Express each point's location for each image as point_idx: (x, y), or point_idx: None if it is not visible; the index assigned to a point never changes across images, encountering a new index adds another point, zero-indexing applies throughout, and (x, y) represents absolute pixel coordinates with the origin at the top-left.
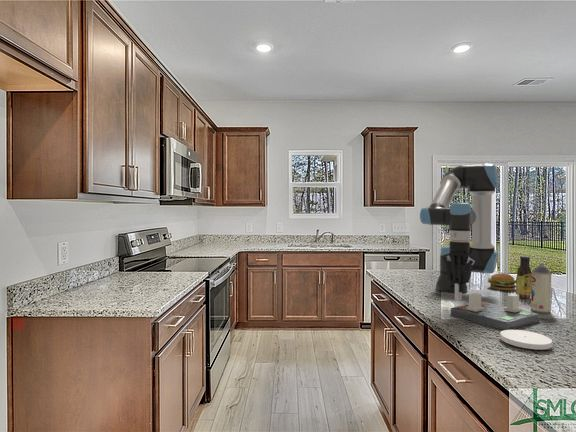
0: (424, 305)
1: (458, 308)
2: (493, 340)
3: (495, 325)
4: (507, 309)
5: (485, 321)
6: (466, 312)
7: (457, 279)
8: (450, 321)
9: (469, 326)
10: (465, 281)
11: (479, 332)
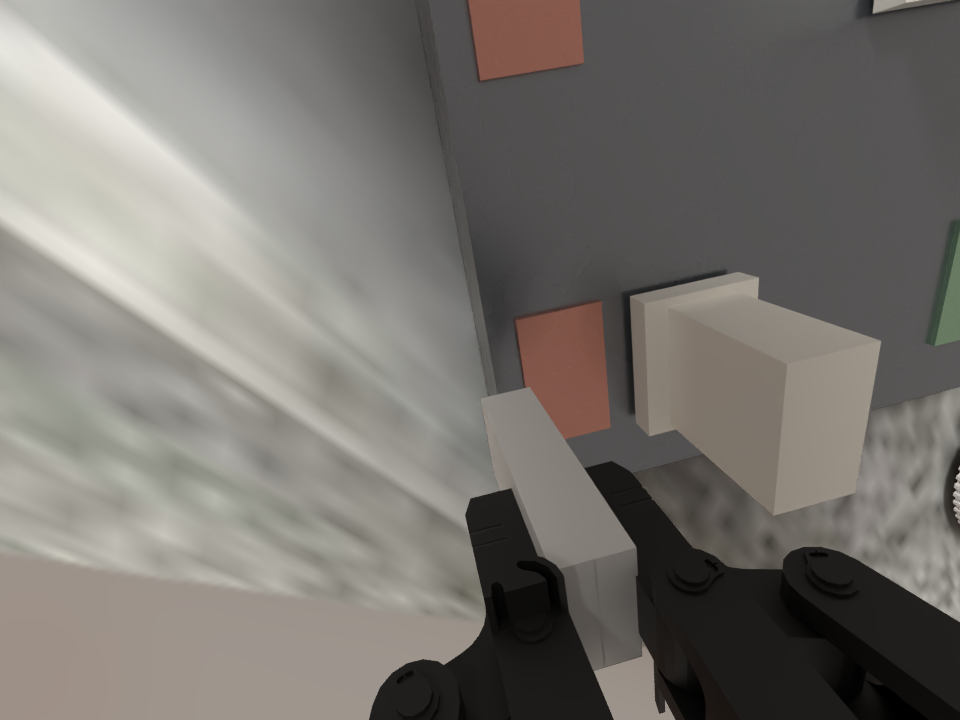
0: (85, 468)
1: None
2: (925, 545)
3: None
4: (931, 1)
5: None
6: (671, 458)
7: (564, 684)
8: None
9: (740, 508)
10: (861, 686)
11: (830, 528)
